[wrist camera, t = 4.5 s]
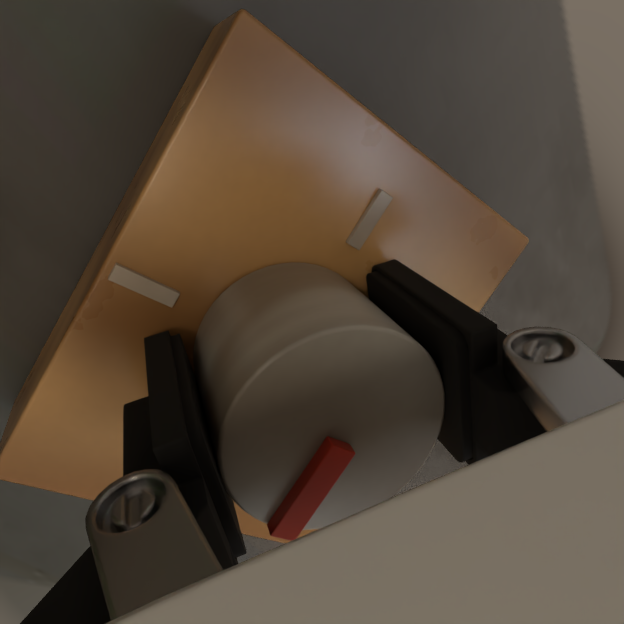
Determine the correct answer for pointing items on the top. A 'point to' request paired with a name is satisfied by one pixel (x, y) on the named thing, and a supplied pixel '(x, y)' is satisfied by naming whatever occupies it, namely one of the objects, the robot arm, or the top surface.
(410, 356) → the knob
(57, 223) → the top surface
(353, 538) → the robot arm
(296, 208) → the dial panel
